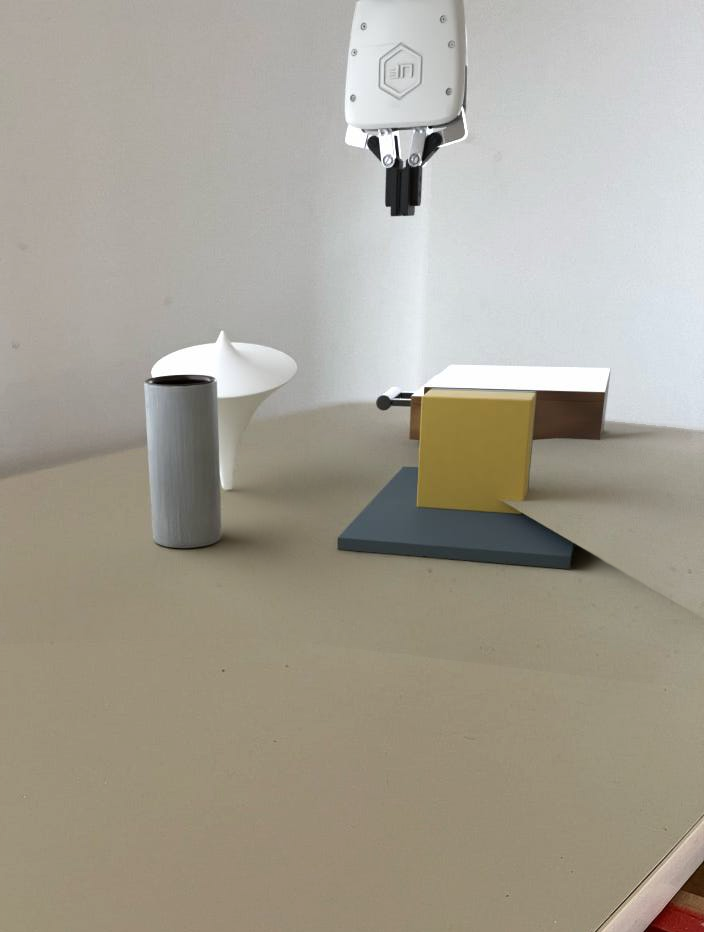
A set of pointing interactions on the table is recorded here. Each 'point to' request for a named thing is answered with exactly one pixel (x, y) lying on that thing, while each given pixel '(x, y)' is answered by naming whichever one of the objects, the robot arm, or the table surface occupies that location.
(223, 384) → the white spinning top
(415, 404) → the drawer
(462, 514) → the mat
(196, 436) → the planter
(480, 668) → the table surface
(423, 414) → the sponge
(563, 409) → the cabinet
